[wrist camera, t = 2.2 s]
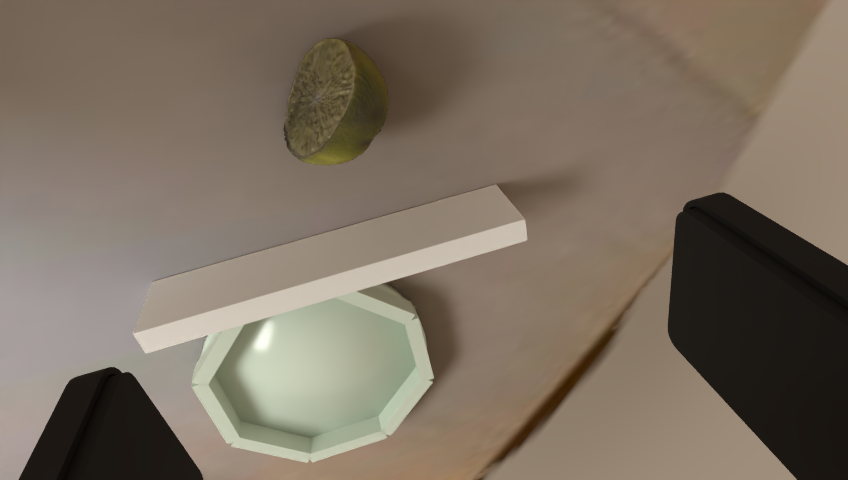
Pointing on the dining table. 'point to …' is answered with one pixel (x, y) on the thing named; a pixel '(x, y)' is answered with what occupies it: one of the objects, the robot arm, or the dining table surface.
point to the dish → (316, 375)
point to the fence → (326, 266)
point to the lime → (335, 104)
